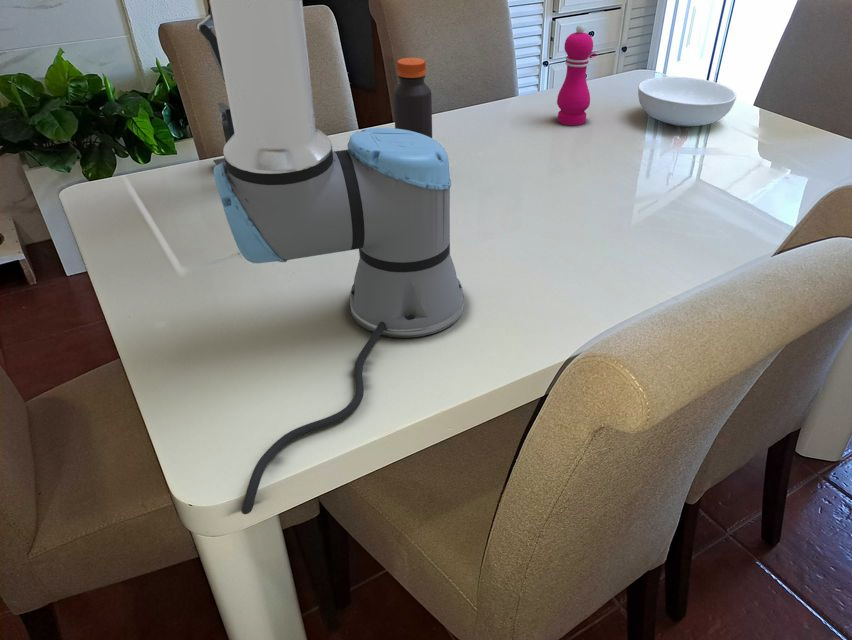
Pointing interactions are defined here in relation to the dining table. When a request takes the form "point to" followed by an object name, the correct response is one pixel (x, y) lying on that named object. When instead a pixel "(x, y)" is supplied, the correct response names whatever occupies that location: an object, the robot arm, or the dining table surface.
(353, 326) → the dining table surface
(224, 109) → the bracket
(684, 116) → the serving bowl
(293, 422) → the dining table surface
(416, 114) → the bottle
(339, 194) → the robot arm
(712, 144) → the dining table surface
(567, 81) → the pepper mill
